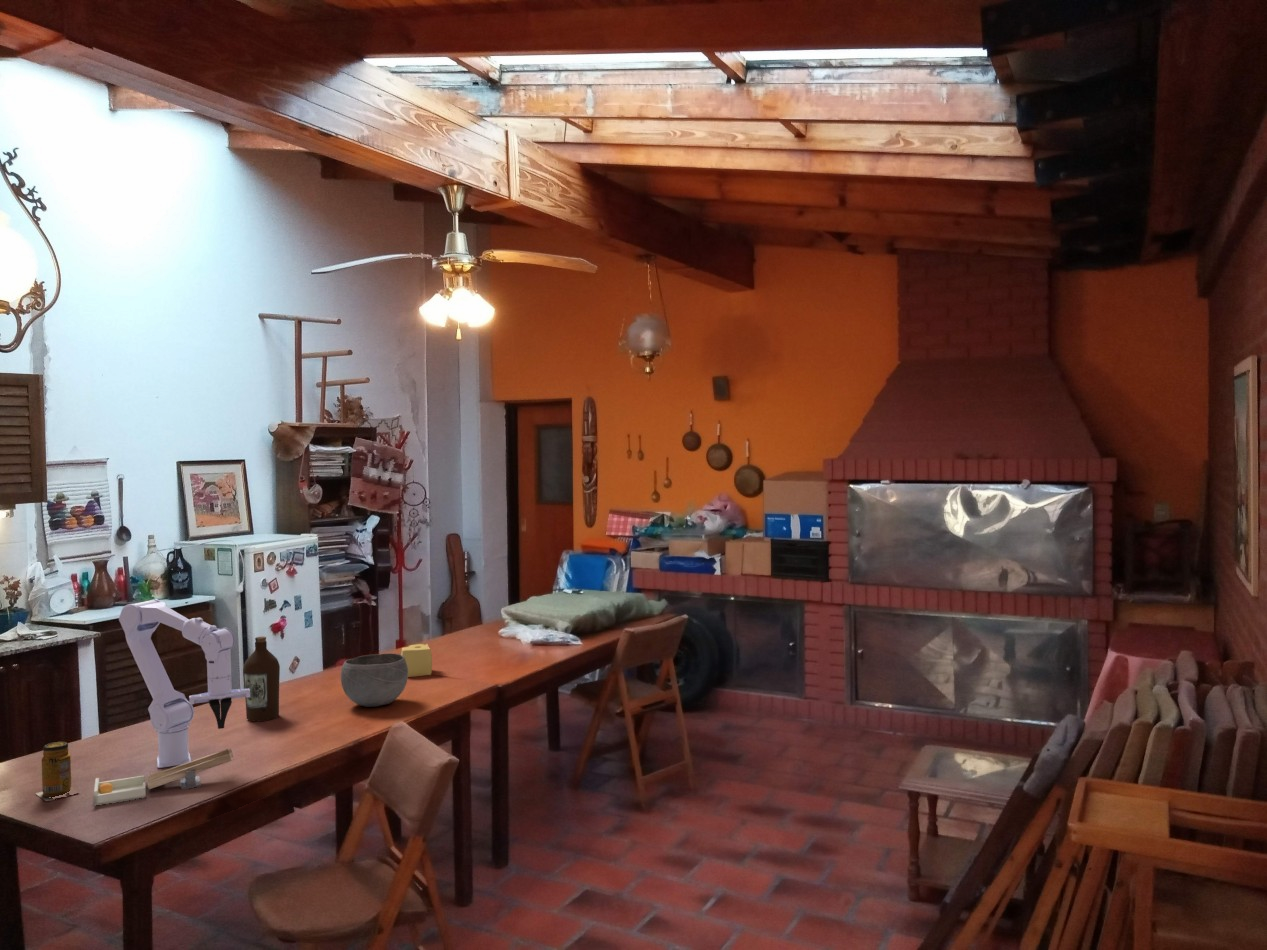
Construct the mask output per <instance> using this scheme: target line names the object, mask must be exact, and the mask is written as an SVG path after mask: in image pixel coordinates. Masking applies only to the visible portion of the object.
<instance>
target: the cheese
mask: <svg viewBox="0 0 1267 950" xmlns="http://www.w3.org/2000/svg"><path fill="white" fill-rule="evenodd" d="M400 655H403V656H404V658H405V660H406V663H407V667H408V678H413V677H422V676H431V675H432V670H433V654H432V651H431V648H430V646H429V644H428V643H418V644H411V645H408V646H407V647H406V646H404V647H401V651H400Z"/></svg>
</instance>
